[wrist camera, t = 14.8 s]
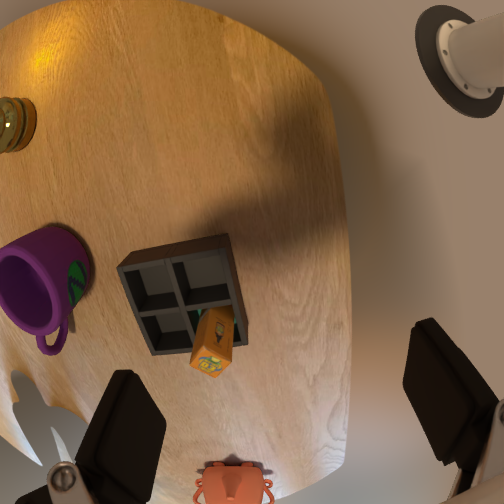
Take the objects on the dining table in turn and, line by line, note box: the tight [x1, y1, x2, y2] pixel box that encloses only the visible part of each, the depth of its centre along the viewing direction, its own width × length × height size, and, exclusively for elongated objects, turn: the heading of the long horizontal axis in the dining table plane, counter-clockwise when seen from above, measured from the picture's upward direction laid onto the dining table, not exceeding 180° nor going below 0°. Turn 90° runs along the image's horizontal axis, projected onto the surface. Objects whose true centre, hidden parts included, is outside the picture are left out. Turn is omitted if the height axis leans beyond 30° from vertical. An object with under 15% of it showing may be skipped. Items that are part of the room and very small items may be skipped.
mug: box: [0, 227, 90, 356], centre depth 30 cm, size 17×11×10 cm, turn 172°
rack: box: [116, 233, 248, 356], centre depth 33 cm, size 12×12×5 cm
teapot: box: [193, 462, 274, 504], centre depth 46 cm, size 15×17×13 cm
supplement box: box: [189, 304, 235, 378], centre depth 31 cm, size 3×3×10 cm
